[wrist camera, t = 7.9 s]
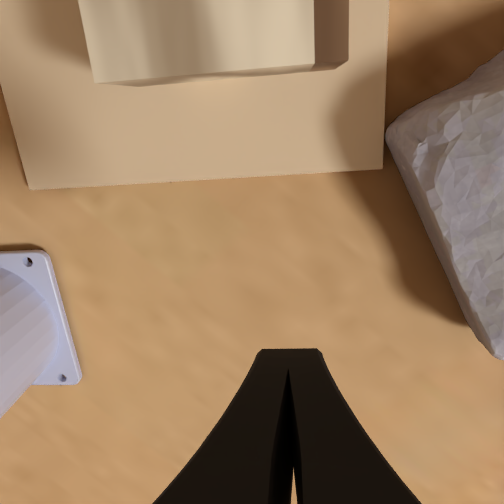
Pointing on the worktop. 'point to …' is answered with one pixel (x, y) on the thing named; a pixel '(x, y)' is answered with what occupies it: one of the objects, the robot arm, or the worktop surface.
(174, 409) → the worktop surface
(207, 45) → the maple block
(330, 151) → the beige square board
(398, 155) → the stone block
